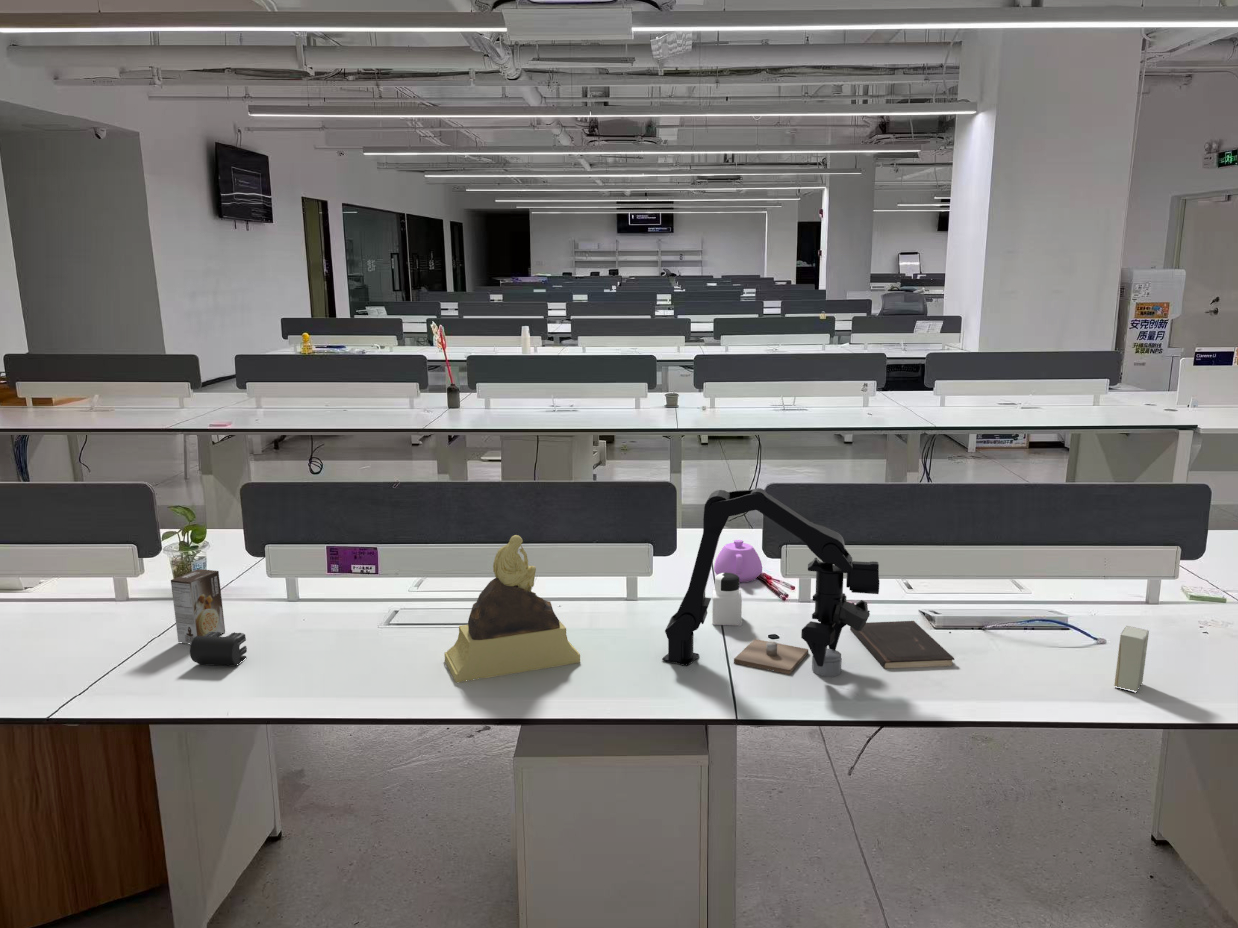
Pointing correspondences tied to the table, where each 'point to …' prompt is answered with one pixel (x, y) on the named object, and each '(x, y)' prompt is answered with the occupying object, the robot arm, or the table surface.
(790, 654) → the stud plate
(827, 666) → the grey short cylinder
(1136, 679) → the skincare box
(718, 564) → the teapot
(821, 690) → the table surface
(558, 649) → the seated figure statue
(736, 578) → the medicine bottle
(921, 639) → the hardcover book
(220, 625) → the coffee box
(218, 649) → the end cap
